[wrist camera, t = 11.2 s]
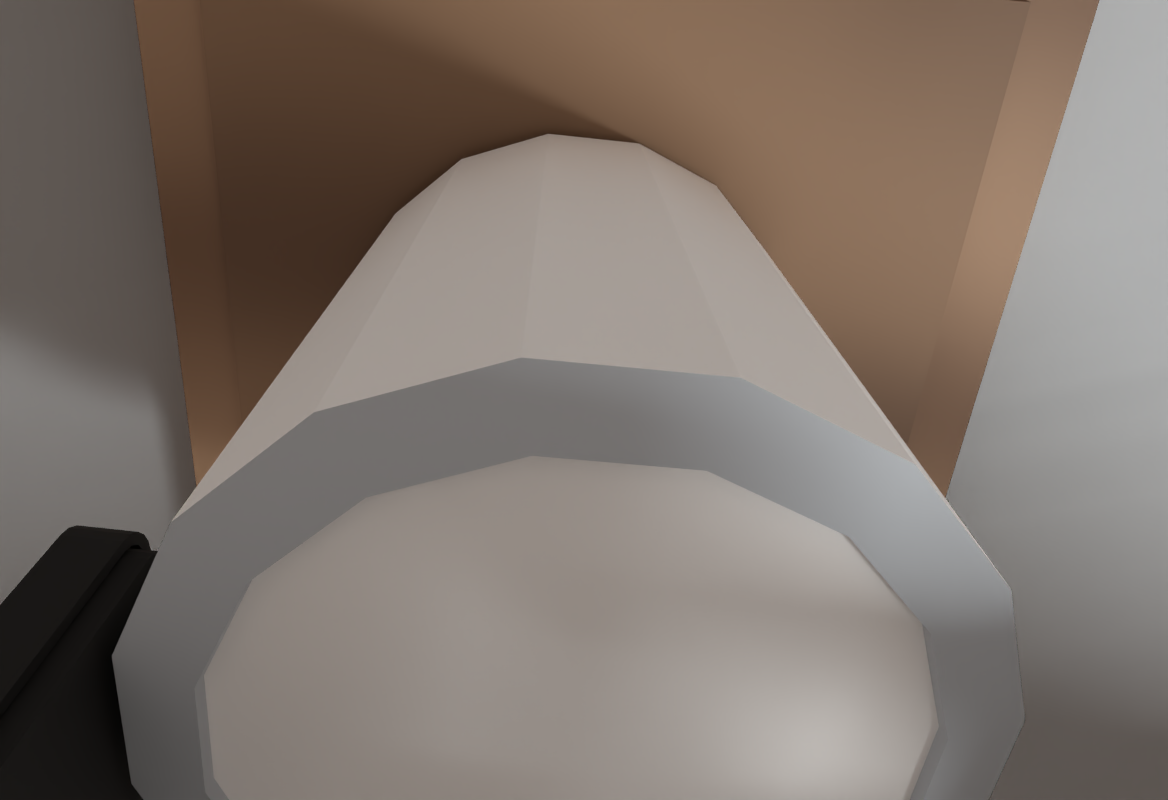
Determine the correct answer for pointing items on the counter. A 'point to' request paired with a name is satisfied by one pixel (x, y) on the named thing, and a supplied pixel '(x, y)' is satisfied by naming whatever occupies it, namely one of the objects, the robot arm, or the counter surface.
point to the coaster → (618, 113)
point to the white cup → (568, 532)
